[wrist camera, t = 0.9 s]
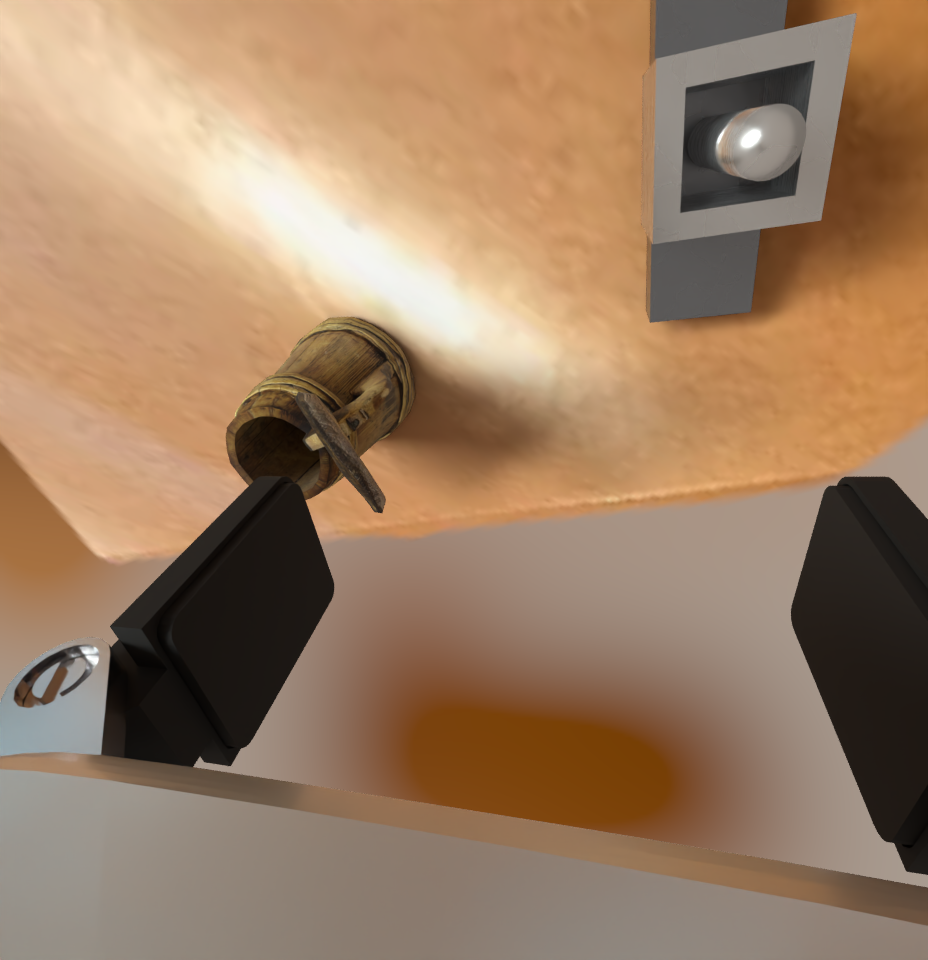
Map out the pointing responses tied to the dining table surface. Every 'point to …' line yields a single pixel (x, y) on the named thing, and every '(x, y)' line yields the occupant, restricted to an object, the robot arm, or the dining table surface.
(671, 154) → the steel collar
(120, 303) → the dining table surface
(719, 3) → the block
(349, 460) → the wooden mug
